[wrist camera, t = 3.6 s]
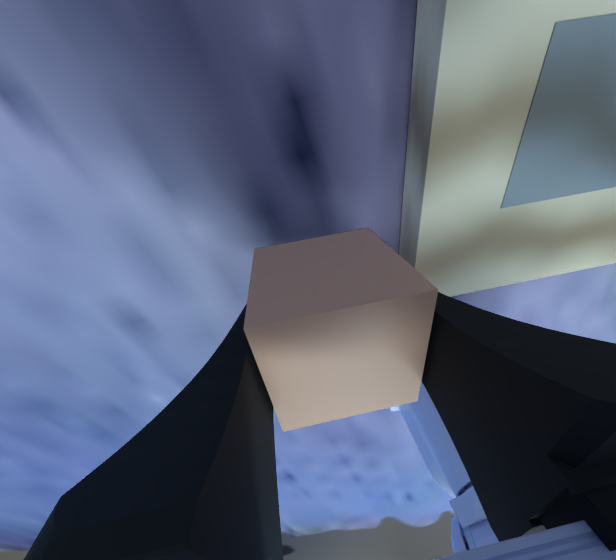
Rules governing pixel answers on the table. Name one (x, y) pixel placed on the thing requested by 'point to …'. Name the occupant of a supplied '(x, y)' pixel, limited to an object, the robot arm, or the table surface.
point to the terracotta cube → (337, 326)
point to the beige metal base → (510, 142)
